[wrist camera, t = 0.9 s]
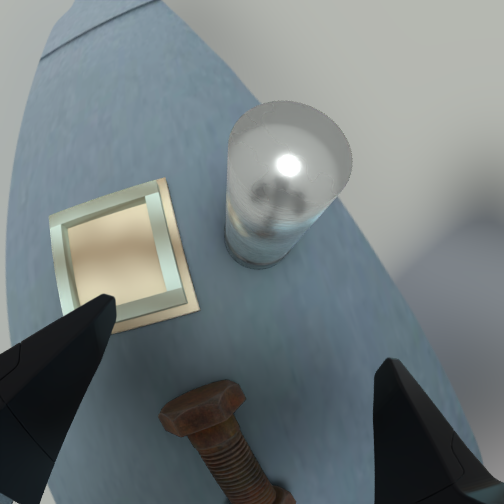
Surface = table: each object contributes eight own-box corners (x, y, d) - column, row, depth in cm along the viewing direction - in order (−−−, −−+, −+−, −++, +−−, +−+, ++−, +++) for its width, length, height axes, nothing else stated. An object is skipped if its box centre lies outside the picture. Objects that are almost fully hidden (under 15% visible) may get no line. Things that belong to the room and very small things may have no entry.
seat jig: (200, 310, 22) (197, 309, 20) (77, 342, 21) (62, 344, 18) (167, 184, 24) (162, 170, 22) (55, 220, 23) (42, 211, 20)
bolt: (269, 521, 20) (189, 387, 22) (322, 516, 19) (245, 370, 20) (244, 565, 15) (141, 420, 17) (304, 566, 13) (202, 408, 15)
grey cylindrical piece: (299, 258, 24) (372, 193, 11) (235, 277, 23) (249, 225, 11) (278, 198, 24) (324, 93, 12) (216, 214, 24) (212, 111, 12)
